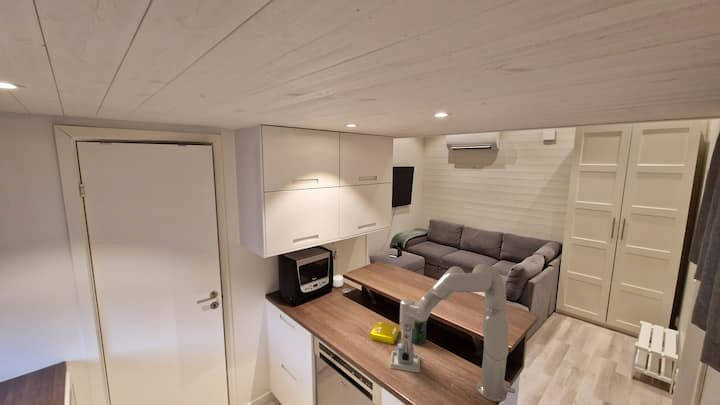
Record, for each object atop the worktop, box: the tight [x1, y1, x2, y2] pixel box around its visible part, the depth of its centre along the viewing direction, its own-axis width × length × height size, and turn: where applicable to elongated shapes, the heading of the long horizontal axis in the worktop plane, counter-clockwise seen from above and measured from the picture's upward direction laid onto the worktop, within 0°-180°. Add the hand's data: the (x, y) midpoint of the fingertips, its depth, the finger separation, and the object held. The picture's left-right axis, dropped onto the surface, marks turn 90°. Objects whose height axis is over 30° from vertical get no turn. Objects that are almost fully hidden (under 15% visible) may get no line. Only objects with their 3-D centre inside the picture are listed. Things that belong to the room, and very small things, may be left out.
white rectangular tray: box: [389, 350, 421, 373], centre depth 153 cm, size 15×11×2 cm
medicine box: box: [396, 342, 415, 363], centre depth 152 cm, size 8×4×9 cm, turn 92°
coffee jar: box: [412, 319, 428, 346], centre depth 171 cm, size 10×8×19 cm
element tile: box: [370, 321, 400, 345], centre depth 177 cm, size 15×15×5 cm
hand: (405, 355), depth 152 cm, fingers closed on medicine box, 5 cm apart
